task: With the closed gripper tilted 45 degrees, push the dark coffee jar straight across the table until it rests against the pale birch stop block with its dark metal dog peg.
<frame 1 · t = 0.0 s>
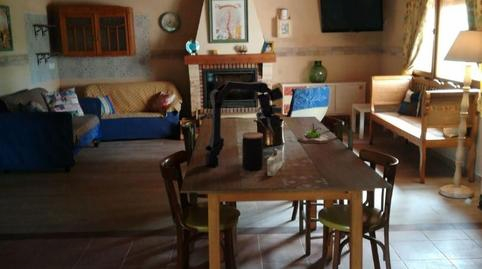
hand: (271, 131, 258), 15 cm above the table, tool pointing down, fingers open, 9 cm apart
plant: (313, 140, 304), on the table
bench stop: (275, 170, 240), on the table
coffee jar: (252, 168, 243), on the table
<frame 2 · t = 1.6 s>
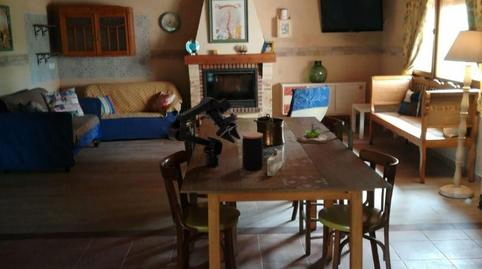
hand: (237, 140, 243), 14 cm above the table, tool tilted 45°, fingers open, 9 cm apart
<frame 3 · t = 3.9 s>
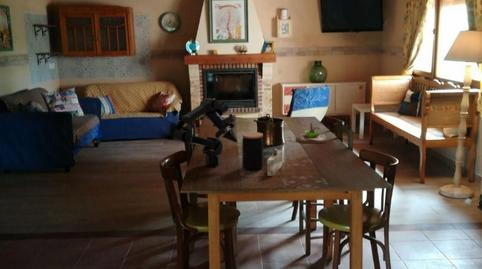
hand: (236, 141, 243), 13 cm above the table, tool tilted 45°, fingers closed
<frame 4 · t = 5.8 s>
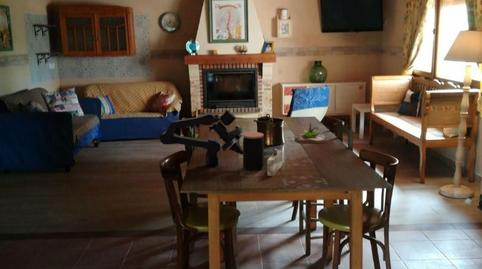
hand: (243, 153, 243), 7 cm above the table, tool tilted 45°, fingers closed
coffee jar: (253, 168, 243), on the table, touching gripper
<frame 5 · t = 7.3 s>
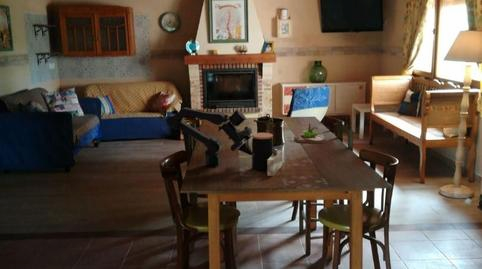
hand: (252, 154, 241), 7 cm above the table, tool tilted 45°, fingers closed, pressing on coffee jar
coffee jar: (262, 169, 241), on the table, touching bench stop, gripper
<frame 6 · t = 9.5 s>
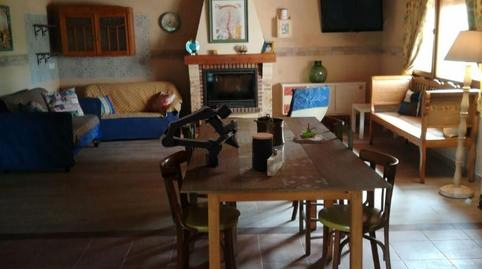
hand: (238, 147, 243), 10 cm above the table, tool tilted 45°, fingers closed
coffee jar: (262, 169, 241), on the table
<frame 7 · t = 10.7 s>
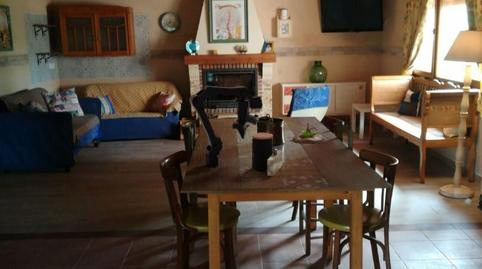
hand: (243, 138, 251), 13 cm above the table, tool pointing down, fingers closed
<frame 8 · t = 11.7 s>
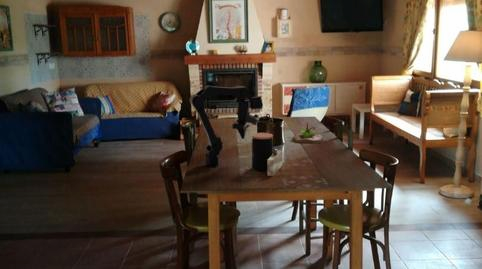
hand: (243, 138, 251), 13 cm above the table, tool pointing down, fingers closed
at the end: coffee jar 0.4 cm from the target spot, on the table; coffee jar moved 5.2 cm from its start; coffee jar tilted 0° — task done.
